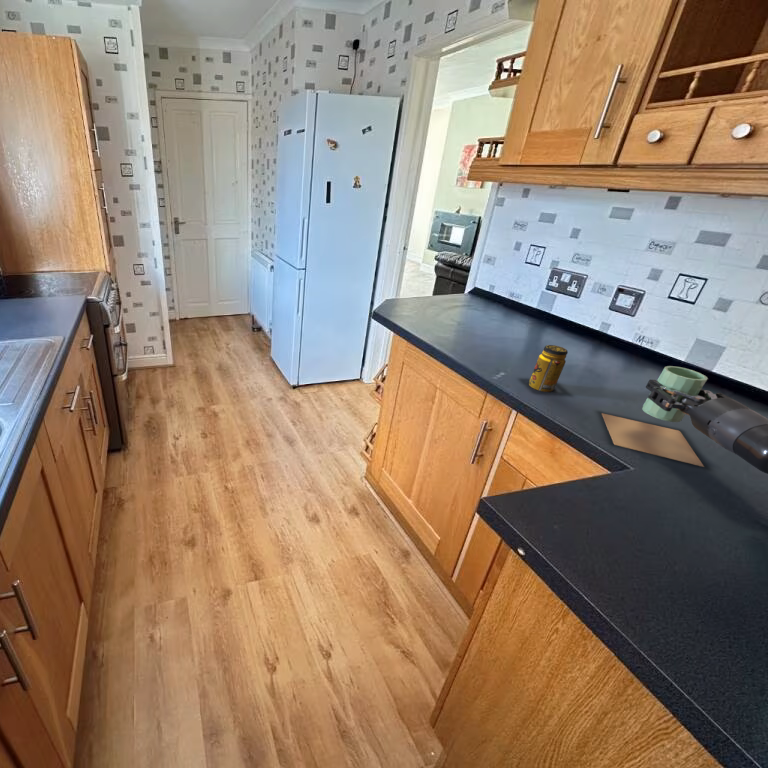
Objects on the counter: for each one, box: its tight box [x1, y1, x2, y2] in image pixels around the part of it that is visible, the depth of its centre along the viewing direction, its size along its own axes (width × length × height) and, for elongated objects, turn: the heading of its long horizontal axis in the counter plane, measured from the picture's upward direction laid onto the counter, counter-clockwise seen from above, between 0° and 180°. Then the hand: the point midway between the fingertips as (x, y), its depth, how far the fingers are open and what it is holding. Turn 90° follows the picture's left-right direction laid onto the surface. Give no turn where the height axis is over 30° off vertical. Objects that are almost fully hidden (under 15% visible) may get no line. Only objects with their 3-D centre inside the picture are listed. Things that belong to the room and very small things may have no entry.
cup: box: [641, 365, 709, 423], centre depth 88 cm, size 7×7×10 cm
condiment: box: [528, 344, 568, 393], centre depth 111 cm, size 7×8×12 cm
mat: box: [601, 412, 705, 468], centre depth 93 cm, size 15×15×1 cm
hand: (667, 385), depth 89 cm, fingers closed on cup, 6 cm apart
